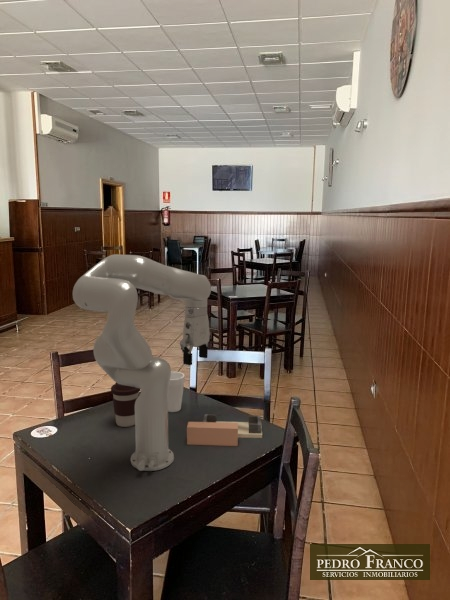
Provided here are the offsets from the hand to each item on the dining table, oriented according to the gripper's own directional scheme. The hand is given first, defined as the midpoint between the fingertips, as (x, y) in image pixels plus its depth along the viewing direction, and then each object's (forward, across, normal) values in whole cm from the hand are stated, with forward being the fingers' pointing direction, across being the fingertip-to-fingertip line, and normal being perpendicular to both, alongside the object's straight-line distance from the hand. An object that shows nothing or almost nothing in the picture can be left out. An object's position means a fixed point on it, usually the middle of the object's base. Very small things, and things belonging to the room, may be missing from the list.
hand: (195, 360), depth 151 cm
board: (+23, +2, -14) cm, 27 cm away
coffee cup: (+23, -11, +21) cm, 33 cm away
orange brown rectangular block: (+23, -8, -12) cm, 27 cm away
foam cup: (+23, +7, +15) cm, 28 cm away
